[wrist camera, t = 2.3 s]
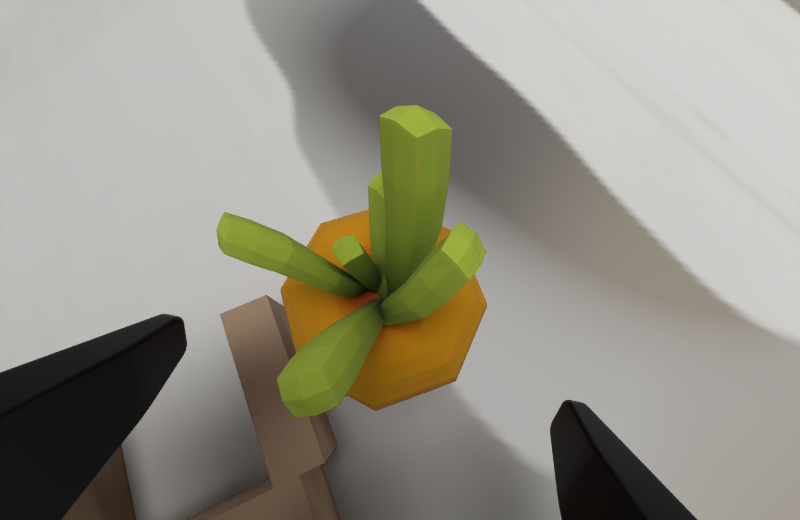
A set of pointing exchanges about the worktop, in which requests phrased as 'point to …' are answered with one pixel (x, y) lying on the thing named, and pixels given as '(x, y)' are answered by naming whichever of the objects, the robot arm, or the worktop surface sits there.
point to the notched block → (275, 427)
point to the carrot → (376, 281)
